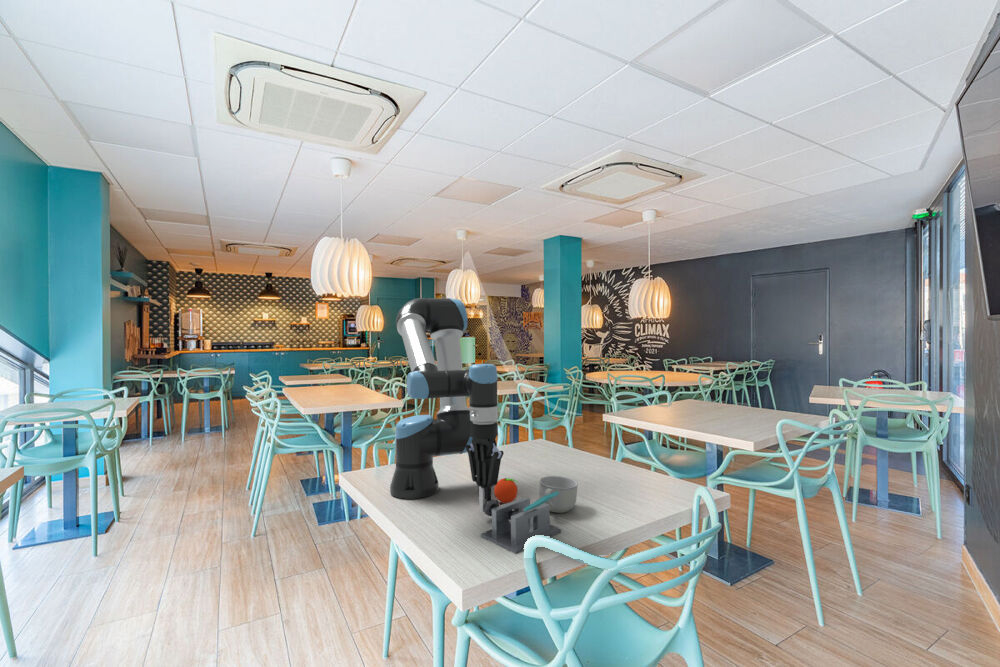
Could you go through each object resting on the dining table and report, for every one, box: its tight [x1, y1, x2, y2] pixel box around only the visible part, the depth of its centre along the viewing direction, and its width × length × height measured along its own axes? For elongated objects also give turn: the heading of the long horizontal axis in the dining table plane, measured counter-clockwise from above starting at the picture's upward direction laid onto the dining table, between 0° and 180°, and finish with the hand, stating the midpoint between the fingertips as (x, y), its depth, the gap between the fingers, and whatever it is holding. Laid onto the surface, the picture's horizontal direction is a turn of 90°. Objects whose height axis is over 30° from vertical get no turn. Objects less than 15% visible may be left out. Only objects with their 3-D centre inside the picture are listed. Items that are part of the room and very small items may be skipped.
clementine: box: [493, 477, 518, 504], centre depth 135 cm, size 8×7×7 cm
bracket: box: [480, 496, 562, 554], centre depth 113 cm, size 12×16×7 cm
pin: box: [483, 497, 529, 523], centre depth 117 cm, size 13×4×4 cm, turn 43°
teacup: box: [538, 475, 579, 514], centre depth 128 cm, size 14×11×8 cm
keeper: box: [523, 491, 559, 512], centre depth 108 cm, size 9×5×1 cm
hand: (484, 510), depth 122 cm, fingers closed
